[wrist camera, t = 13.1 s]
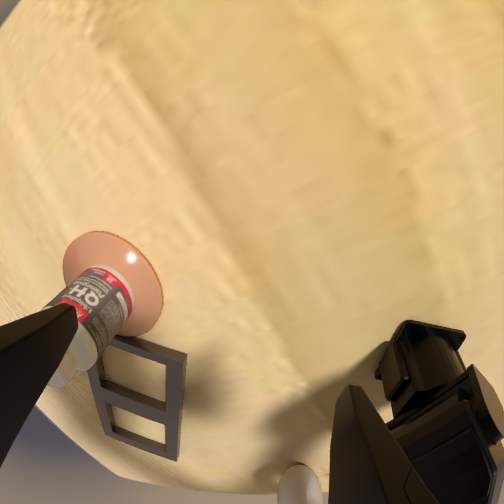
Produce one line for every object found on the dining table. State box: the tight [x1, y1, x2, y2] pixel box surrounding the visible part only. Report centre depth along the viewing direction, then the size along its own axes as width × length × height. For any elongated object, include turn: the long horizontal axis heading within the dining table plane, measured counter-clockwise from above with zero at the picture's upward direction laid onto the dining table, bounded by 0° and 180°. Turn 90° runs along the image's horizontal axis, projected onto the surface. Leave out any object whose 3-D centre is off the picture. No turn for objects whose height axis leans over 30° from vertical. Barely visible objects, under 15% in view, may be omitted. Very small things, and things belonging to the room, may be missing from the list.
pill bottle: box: [41, 264, 135, 388], centre depth 20 cm, size 5×5×10 cm
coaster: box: [63, 231, 163, 336], centre depth 25 cm, size 10×10×1 cm
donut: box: [277, 465, 323, 504], centre depth 29 cm, size 10×4×10 cm, turn 27°
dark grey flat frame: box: [87, 335, 187, 462], centre depth 32 cm, size 11×22×1 cm, turn 168°
